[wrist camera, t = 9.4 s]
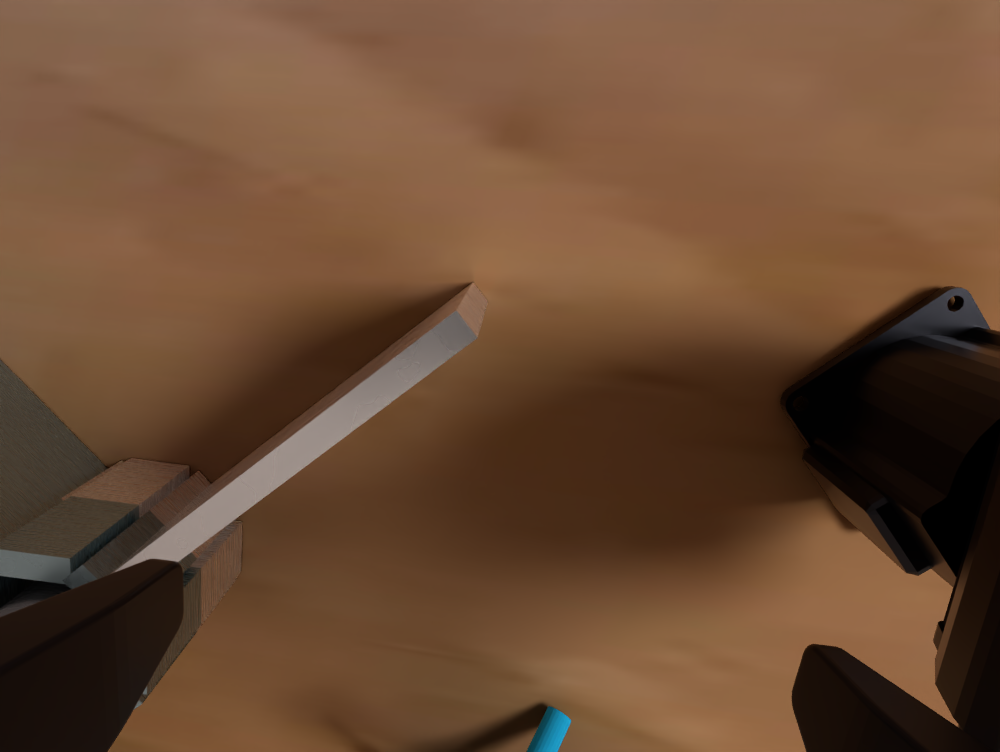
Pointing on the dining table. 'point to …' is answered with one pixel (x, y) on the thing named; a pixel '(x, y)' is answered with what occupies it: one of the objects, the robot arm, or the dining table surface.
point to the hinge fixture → (179, 481)
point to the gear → (550, 732)
